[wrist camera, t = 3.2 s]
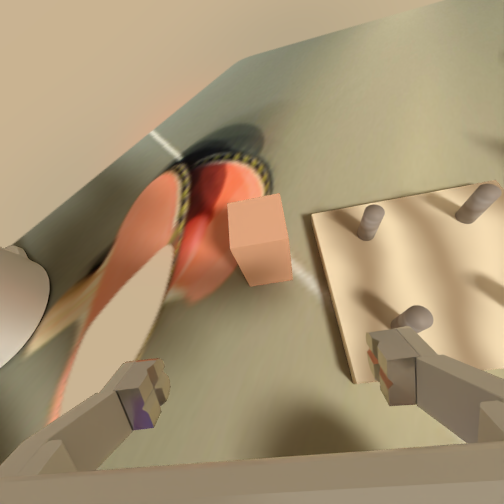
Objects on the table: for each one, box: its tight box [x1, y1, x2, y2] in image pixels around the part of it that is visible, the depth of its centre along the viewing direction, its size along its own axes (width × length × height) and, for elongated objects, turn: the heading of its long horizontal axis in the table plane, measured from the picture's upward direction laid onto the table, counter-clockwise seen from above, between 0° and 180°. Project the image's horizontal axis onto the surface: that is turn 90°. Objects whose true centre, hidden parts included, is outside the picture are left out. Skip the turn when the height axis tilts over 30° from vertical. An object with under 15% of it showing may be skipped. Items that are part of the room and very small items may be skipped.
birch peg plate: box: [311, 180, 504, 384], centre depth 20 cm, size 18×16×5 cm
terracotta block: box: [227, 193, 293, 287], centre depth 23 cm, size 4×4×8 cm
